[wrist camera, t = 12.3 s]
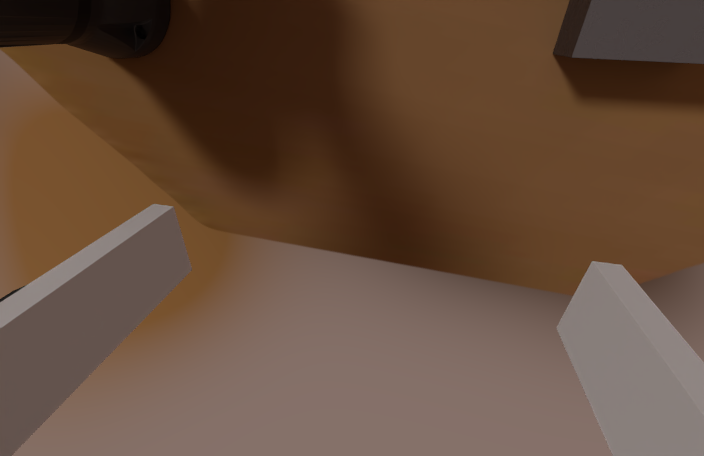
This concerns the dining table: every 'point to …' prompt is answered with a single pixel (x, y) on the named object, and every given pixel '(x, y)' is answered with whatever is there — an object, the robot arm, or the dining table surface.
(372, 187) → the dining table surface
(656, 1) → the stand
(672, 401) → the robot arm
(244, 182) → the dining table surface
